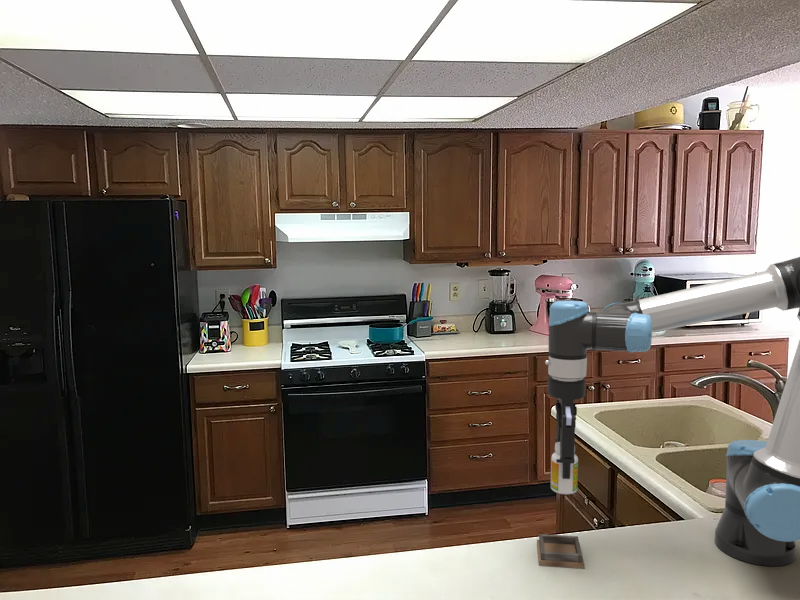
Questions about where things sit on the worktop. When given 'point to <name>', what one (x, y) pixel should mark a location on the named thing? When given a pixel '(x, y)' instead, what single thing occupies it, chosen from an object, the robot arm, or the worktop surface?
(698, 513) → the worktop surface
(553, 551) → the socket board
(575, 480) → the supplement bottle
